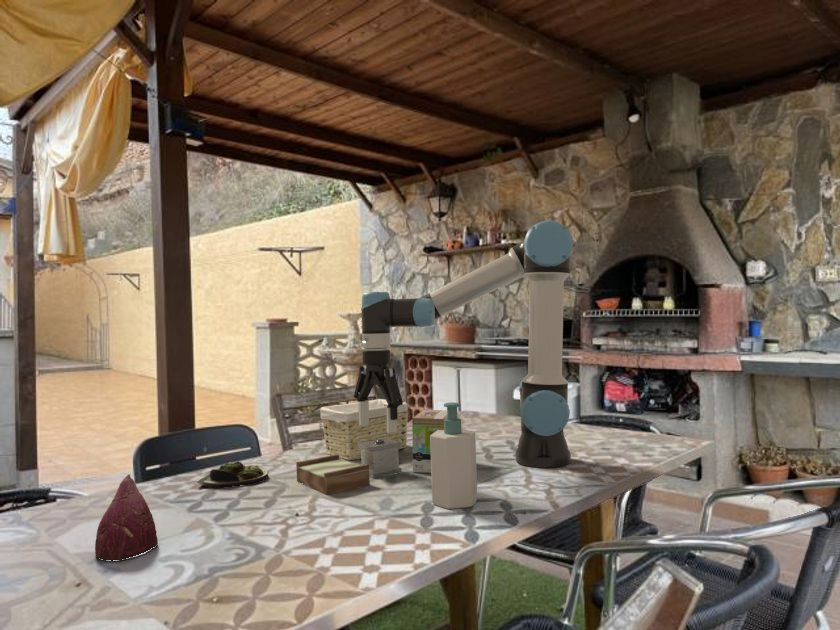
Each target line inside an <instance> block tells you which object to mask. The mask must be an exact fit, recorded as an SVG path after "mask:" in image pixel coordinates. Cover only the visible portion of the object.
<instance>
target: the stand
mask: <svg viewBox="0 0 840 630" xmlns="http://www.w3.org/2000/svg"><path fill="white" fill-rule="evenodd" d="M295 466H296V482H297V481H298V482H297V483H299V482H300V484H302V483H303V485H304V484H305V485H304V486H306V485H307V487H308V486H309V487H308V488H310V487H311V488H310V489H313V490H315V491H317V490H318V491H317V492H319V491H320V493H322V494H324V495H326V496H329V495H332V494H337V493H342V492H345V491H350V490H353V489H358V488H363V487H368V486H371V485H370V484H371V483H370V479H371V478H370V477H369V465H368V464H366V465H360V464H359V465H358V464H356V463H352V462H349V461H348V460H345V459H342V458H340V457H339V455H327V456H322V457H316V458H311V459H305V460H301V461H296V465H295Z"/></svg>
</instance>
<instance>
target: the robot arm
mask: <svg viewBox="0 0 840 630" xmlns="http://www.w3.org/2000/svg"><path fill="white" fill-rule="evenodd" d="M573 240H574V239H573V237H572V234H571V232H570V231H569V229H568V228H567V227H566V225H564V224H562V223H560V222H558V221H555V220H543V221H540V222H538V223H536V224H534V225H532V226H531V227H530V228H529V229H528V230H527V232H526V234H525V237H524V240H522V241H521V242H520V243H517V244H516V245H513V246H512V247H510V249H509V252H508V253H506V254H504V255H502V256H500V257H498V258H497V259H494V260H492V261H490V262H489V263H486V264H484V265H482V266H480V267H479V268H476V269H474V270H473V271H471V272H469V273H467V274H464V275H462V276H461V277H459V278H457V279H454V280H453V281H451V282H449V283H447V284H445V285H443V286H441V287H438V288H437V289H435V290H433V291H431V292H429V293H427V294H425V295H423V296H421V297H419V298H418V297H417V298H391V297H390V292H388V291H367V292H364V293H362V296H361V309H360V310H361V325H362V327H361V329H362V334H361V336H362V337H361V341H362V349H364V350H362V351H361V353H362V354H361V355H362V364H363V365H362V366H361V365H360V366H359V367H358V368H359V372H358V377H357V382H356V385H355V389H354V393H353V398H354V399H356V400H357V402H359V425H360V426H362V425H369V401H370V400H369V395H370V393H371V392H372V389H373V387H374V385H377V387H379V389H380V390H381V392H382V394H383V397H384V400H386V401H387V403H388V406H387V433H391V432H397V418H398V415H397V408H398V406H399V405H402V404H403V402H404V401H403V398H402V394H401V391H400V387H399V385H398V381H397V378H396V369H395V368H394V367H393V368H388V365H389V364H391V351H390V348H391V346H392V345H391V328H406V327H407V328H410V327H412V328H417V327H418V328H424V327H432V326H433V325H434V323H435V321H436V320H438V319H439V318H441V317H443V316H445V315H446V314H449V313H451V312H453V311H455V310H457V309H459V308H461V307H463V306H464V305H465V306H466V305H467V304H469V303H471V302H473V301H475V300H477V299H479V298H481V297H484V296H485V295H488V294H489V293H491V292H493V291H495V290H497V289H499V288H501V287H504V286H506V285H507V284H509V283H511V282H514V281H515V280H517V279H518V280H519V278H520V279H521V278H523V279H527V280H528V281H529V298H528V299H529V302H528V303H529V305H528V346H527V347H528V350H527V351H528V352H527V353H528V355H527V363H528V364H527V374H526V375H525V376H524V377H523V378H522V379H521V381H520V383H519V388H518V392H519V400H520V401H519V404H520V405H519V406H520V407H519V408H520V409H519V410H520V428H521V429H520V438H519V440H518V445H517V449H516V451H515V462H516V463H518V464H520V465H522V466H526V467H533V468H557V467H563V466H568V465H569V464H571V462H572V455H571V452H570V450H569V446H568V444H567V443H568V442H567V440H566V437H565V433H564V432H565V431H564V429H565V427H566V426H567V424H568V422H569V419H570V411H571V410H570V405H569V404H568V403H569V402H568V401H569V400H568V399H569V398H568V397H569V396H568V394H569V392H568V391H569V388H568V387H569V381H568V380H567V379H566V378H565V377H564V376H563V342H564V341H563V340H564V339H563V337H564V334H563V333H564V331H563V330H564V291H565V290H564V285H565V283H564V282H565V281H566V279H568V277H570V276H571V254H572V252H573V248H574V241H573Z"/></svg>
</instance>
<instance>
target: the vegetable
mask: <svg viewBox="0 0 840 630" xmlns="http://www.w3.org/2000/svg"><path fill="white" fill-rule="evenodd" d="M119 483H120V484H119V485H118V488H117V491H116V492H115V495H114V497H113V499H112V501H111V502H110V504H109V506H108V507H107V509H106V510H105V512H104V514H103V515H102V518H101V520H100V521H99V523H98V526H97V529H96V536H95V537H96V538H95V544H94V552H95V553H94V554H95V557H96V556H97V557H98V558H100V559H103V560H111V561H113V560H122V559H126V558H129V557H133V556H136V555H139V554H141V553H144V552H146V551H148V550H150V549H151V548H153V547H155V546H156V545H157V544H158V545H159V543H158V536H157V529H156V523H155V519H154V517H153V513H152V512H151V510H150V509H151V508H150V507H149V505H148V503H147V501H146V500H145V498H144V496H143V495H142V493H141V492H140V490H139V488H138V487H137V484H136V482H135V481H134V479H133V478H132V477H131V474H127V475H126V476H125V477H124V478H123V479H122V480H121V482H119ZM158 545H157V546H158ZM97 557H96V558H97Z"/></svg>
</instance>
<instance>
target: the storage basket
mask: <svg viewBox="0 0 840 630" xmlns="http://www.w3.org/2000/svg"><path fill="white" fill-rule="evenodd" d="M368 401H369V425H362V426H360V425H359V401H357V402H352V403H351V402H350V403H343V404H336V405H328V406H322V407H319V408H320V409H319V413H320V419H321V423H322V427H323V428H322V431H323V437H324V443H325V451H326V454H328V455H329V456H331V455H339V459H342V460H345V459H346V460H345V461H352V460H353V461H355V459H356V460H361V448H358V443H362V442H368V441H373V440H379V439H384V438H387V439H391V440H395V441H399V442H401V446H400V447H398V450H401V449H406V448H407V440H408V439H407V438H408V437H407V435H408V434H407V432H408V431H407V430H408V425H407V424H408V414H409V413H408V411H409V405H408V403H407V402H405V401H403V404H402V405H399V406H398V408H397V415H398V418H397V432H391V433H387V406H388V403H387V401H386V399H383V398H377V399H374V400H373V399H371V400H368Z"/></svg>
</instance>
